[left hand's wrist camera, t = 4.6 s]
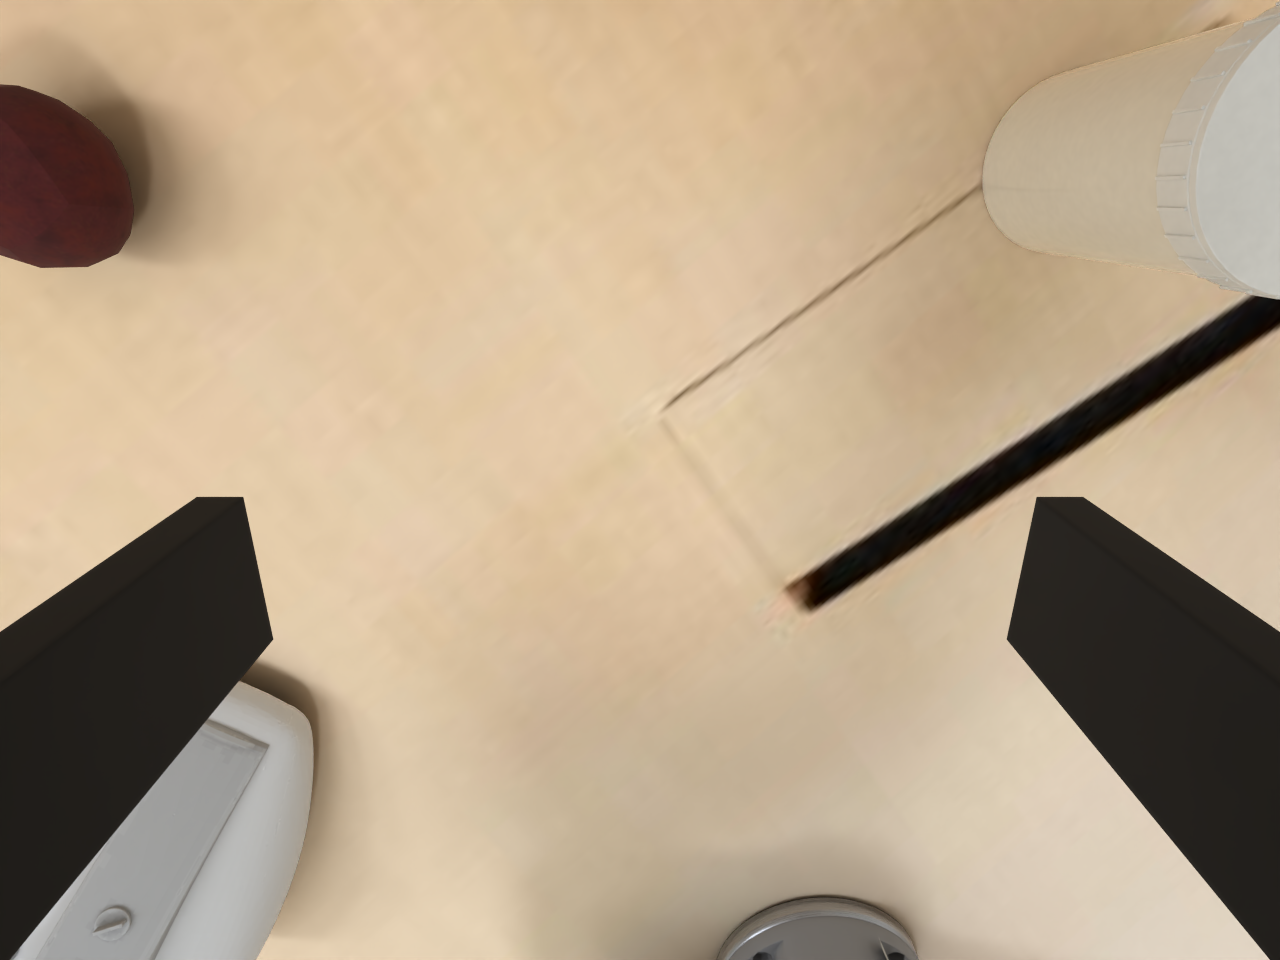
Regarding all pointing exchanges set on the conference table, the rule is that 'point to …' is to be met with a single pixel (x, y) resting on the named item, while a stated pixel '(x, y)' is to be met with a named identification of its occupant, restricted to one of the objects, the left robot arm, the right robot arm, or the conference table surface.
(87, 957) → the projector
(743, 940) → the left robot arm
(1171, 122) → the lid
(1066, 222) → the jar
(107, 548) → the conference table surface
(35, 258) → the dark red ball
